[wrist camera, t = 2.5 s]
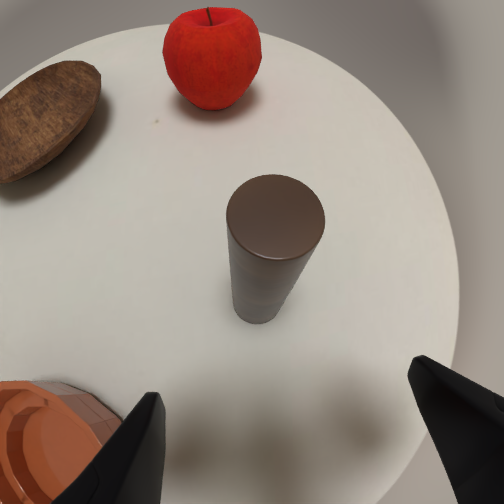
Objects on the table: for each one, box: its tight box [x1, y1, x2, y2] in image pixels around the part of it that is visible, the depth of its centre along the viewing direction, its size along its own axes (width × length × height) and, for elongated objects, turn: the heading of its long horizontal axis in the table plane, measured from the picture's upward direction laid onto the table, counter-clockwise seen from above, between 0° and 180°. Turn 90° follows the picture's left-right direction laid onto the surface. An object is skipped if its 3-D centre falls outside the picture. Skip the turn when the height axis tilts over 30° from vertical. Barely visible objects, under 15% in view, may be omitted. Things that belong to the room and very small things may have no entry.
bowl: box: [0, 61, 101, 184], centre depth 27 cm, size 20×22×5 cm
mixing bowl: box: [0, 381, 122, 504], centre depth 14 cm, size 14×14×6 cm
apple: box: [162, 7, 262, 110], centre depth 26 cm, size 10×10×12 cm
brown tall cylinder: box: [226, 174, 325, 324], centre depth 17 cm, size 4×4×13 cm
